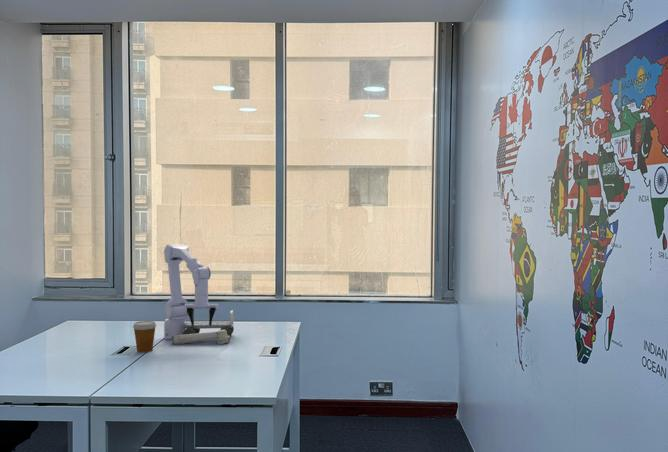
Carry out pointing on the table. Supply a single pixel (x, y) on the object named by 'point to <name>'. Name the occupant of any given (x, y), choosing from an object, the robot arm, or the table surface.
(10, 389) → the table surface
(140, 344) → the disposable coffee cup
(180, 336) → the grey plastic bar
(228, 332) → the trolley
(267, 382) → the table surface
